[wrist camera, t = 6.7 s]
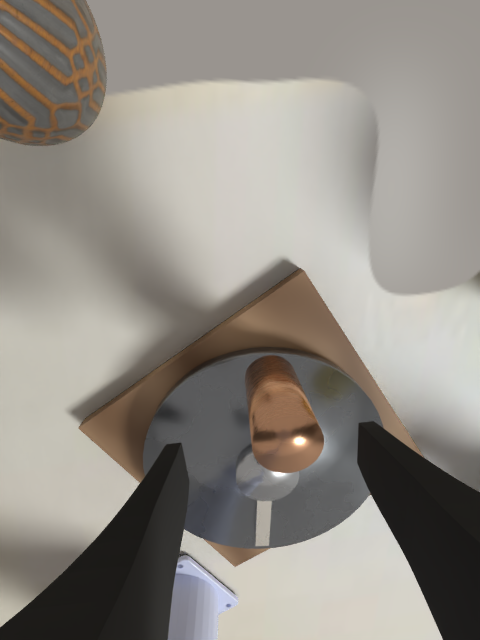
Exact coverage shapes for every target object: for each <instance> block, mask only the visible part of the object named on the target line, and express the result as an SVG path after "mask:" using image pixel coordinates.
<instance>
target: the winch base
mask: <svg viewBox="0 0 480 640" xmlns="http://www.w3.org/2000/svg"><path fill="white" fill-rule="evenodd" d="M256 347H284V348H290V349H296V350H302V351H305V352H308V353H311V354H314V355H317V356H319V357H322V358H324V359H326V360H328V361H330V362H332V363H333V364H335V365H337V366H338V367H340V368H341V369H343V370H344V371H345V372H346V373H347V374H349V375H350V376H351V377H352V378H353V379H354V380H355V381H356V382H357V384H358V385H359V386H360V387H361V388H362V390H363V391H364V392H365V393H366V395H367V396H368V397H369V398H370V400H371V401H372V403H373V404H374V406H375V408H376V409H377V411H378V413H379V416H380V418H381V421H382V424H383V428H384V429H385V430H386V431H388V432H389V433H390V434H392V435H393V436H394V437H396V438H397V439H399V440H400V441H401V442H403V443H404V444H405V445H407V446H408V447H409V448H411V449H412V450H414V451H415V452H416V453H418V454H419V455H421V456H422V457H423V455H422V454H421V452H420V451H419V449H418V448H417V446H416V444H415V443H414V441H413V440H412V438H411V437H410V435H409V433H408V432H407V430H406V429H405V427H404V426H403V424H402V423H401V421H400V419H399V418H398V416H397V415H396V413H395V412H394V410H393V409H392V407H391V405H390V404H389V402H388V401H387V399H386V398H385V396H384V395H383V393H382V391H381V390H380V388H379V387H378V385H377V384H376V382H375V380H374V379H373V377H372V376H371V374H370V373H369V371H368V370H367V368H366V366H365V365H364V363H363V362H362V360H361V359H360V357H359V356H358V354H357V352H356V351H355V349H354V348H353V346H352V345H351V343H350V342H349V340H348V338H347V337H346V335H345V334H344V332H343V331H342V329H341V327H340V326H339V324H338V323H337V321H336V320H335V318H334V317H333V315H332V313H331V312H330V310H329V309H328V307H327V306H326V304H325V303H324V301H323V299H322V298H321V296H320V295H319V293H318V292H317V290H316V289H315V287H314V285H313V284H312V282H311V281H310V279H309V278H308V276H307V274H306V273H305V271H304V270H302V269H301V268H300V269H298V270H297V271H295V272H294V273H293V274H291V275H290V276H288V277H287V278H285V279H284V280H283V281H281V282H280V283H278V284H277V285H275V286H274V287H273V288H271V289H270V290H268V291H267V292H265V293H264V294H263V295H261V296H260V297H258V298H257V299H255V300H254V301H253V302H251V303H250V304H248V305H247V306H245V307H244V308H242V309H241V310H240V311H238V312H237V313H235V314H234V315H232V316H231V317H230V318H228V319H227V320H225V321H224V322H222V323H221V324H220V325H218V326H217V327H215V328H214V329H212V330H211V331H210V332H208V333H207V334H205V335H204V336H202V337H201V338H200V339H198V340H197V341H195V342H194V343H192V344H191V345H190V346H188V347H187V348H185V349H184V350H182V351H181V352H180V353H178V354H177V355H175V356H174V357H172V358H171V359H170V360H168V361H167V362H165V363H164V364H162V365H161V366H160V367H158V368H157V369H155V370H154V371H152V372H151V373H150V374H148V375H147V376H145V377H144V378H142V379H141V380H140V381H138V382H137V383H135V384H134V385H132V386H131V387H130V388H128V389H127V390H125V391H124V392H122V393H121V394H120V395H118V396H117V397H115V398H114V399H112V400H111V401H110V402H108V403H107V404H105V405H104V406H102V407H101V408H100V409H98V410H97V411H95V412H94V413H92V414H91V415H90V416H88V417H87V418H85V419H84V421H83V422H82V424H81V425H80V426H79V429H80V430H81V431H82V432H83V433H84V434H85V435H87V436H88V437H89V438H90V439H91V440H92V441H93V442H94V443H96V444H97V445H98V446H99V447H100V448H101V449H102V450H104V451H105V452H106V453H107V454H108V455H109V456H110V457H111V458H113V459H114V460H115V461H116V462H117V463H118V464H119V465H120V466H122V467H123V468H124V469H125V470H126V471H127V472H128V473H130V474H131V475H132V476H133V477H134V478H135V479H136V480H137V481H139V482H140V483H141V481H142V480H143V478H144V477H145V474H144V469H143V450H144V442H145V439H146V436H147V432H148V429H149V426H150V424H151V421H152V418H153V416H154V414H155V412H156V410H157V408H158V406H159V404H160V402H161V401H162V399H163V398H164V397H165V395H166V394H167V392H168V391H169V390H170V389H171V388H172V387H173V386H174V385H175V384H176V383H177V382H178V381H179V380H180V379H181V378H182V377H184V376H185V375H186V374H187V373H188V372H190V371H191V370H193V369H195V368H196V367H198V366H199V365H201V364H203V363H205V362H207V361H209V360H211V359H213V358H215V357H218V356H220V355H224V354H227V353H230V352H233V351H237V350H243V349H248V348H256ZM369 495H371V493H370V494H369ZM204 540H205V539H204ZM205 541H206V542H207V543H209V544H210V545H211V546H212V547H213V548H214V549H215V550H217V551H218V552H219V553H220V554H221V555H222V556H223V557H224V558H226V559H227V560H228V561H229V562H230V563H231V564H232V565H233V566H235V567H236V566H238V565H239V564H241V563H243V562H245V561H247V560H249V559H251V558H253V557H254V556H256V555H258V554H260V553H262V552H264V551H266V550H268V549H270V548H265V549H246V548H237V547H230V546H225V545H220V544H217V543H214V542H211V541H207V540H205Z"/></svg>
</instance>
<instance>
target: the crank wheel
mask: <svg viewBox="0 0 480 640" xmlns="http://www.w3.org/2000/svg"><path fill="white" fill-rule="evenodd" d="M370 421H374V422H376V423H377V424H378V425H380V426H381V427H382V428H383V424H382V421H381V418H380V416H379V413H378V411H377V409H376V408H375V406H374V404H373V403H372V401H371V400H370V398H369V397H368V396H367V395H366V393H365V392H364V391H363V390H362V388H361V387H360V386H359V385H358V384H357V382H356V381H355V380H354V379H353V378H352V377H351V376H350V375H349V374H347V373H346V372H345V371H344V370H343V369H341V368H340V367H338V366H337V365H335V364H333V363H332V362H330V361H328V360H326V359H324V358H322V357H319V356H317V355H314V354H311V353H308V352H305V351H302V350H296V349H290V348H284V347H256V348H248V349H243V350H237V351H233V352H230V353H227V354H224V355H220V356H218V357H215V358H213V359H211V360H209V361H207V362H205V363H203V364H201V365H199V366H198V367H196V368H195V369H193V370H191V371H190V372H188V373H187V374H186V375H185V376H184V377H182V378H181V379H180V380H179V381H178V382H177V383H176V384H175V385H174V386H173V387H172V388H171V389H170V390H169V391H168V392H167V394H166V395H165V397H164V398H163V399H162V401H161V402H160V404H159V406H158V408H157V410H156V412H155V414H154V416H153V418H152V421H151V424H150V426H149V429H148V432H147V436H146V439H145V442H144V450H143V469H144V474H145V476H146V474H147V473H148V471H149V470H150V468H151V467H152V465H153V464H154V462H155V461H156V459H157V457H158V456H159V454H160V453H161V451H162V450H163V448H164V446H165V445H166V444H172V443H181V442H182V447H183V452H184V457H185V462H186V467H187V472H188V477H189V495H188V507H187V514H186V519H185V525H184V529H185V530H187V531H189V532H190V533H192V534H194V535H196V536H198V537H200V538H203V539H205V540H207V541H211V542H214V543H217V544H220V545H225V546H230V547H237V548H246V549H265V548H276V547H282V546H288V545H292V544H296V543H299V542H303V541H306V540H308V539H311V538H314V537H316V536H318V535H320V534H322V533H324V532H327V531H329V530H330V529H332V528H333V527H335V526H337V525H338V524H340V523H341V522H343V521H344V520H345V519H346V518H348V517H349V516H350V515H351V514H352V513H354V512H355V511H356V510H357V509H358V508H359V507H360V506H361V504H362V503H363V502H364V501H365V500H366V498H367V497H368V496H369V494H370V492H369V490H368V488H367V485H366V483H365V481H364V478H363V476H362V474H361V471H360V469H359V466H358V464H357V451H358V426H359V423H361V422H370Z"/></svg>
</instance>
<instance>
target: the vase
mask: <svg viewBox="0 0 480 640" xmlns="http://www.w3.org/2000/svg"><path fill="white" fill-rule="evenodd" d="M105 90H106V63H105V56H104V50H103V45H102V42H101V38H100V35H99V32H98V29H97V25H96V23H95V20H94V17H93V15H92V13H91V10H90V8H89V6H88V4H87V2H86V0H0V138H1V139H4V140H7V141H11V142H15V143H19V144H25V145H33V146H47V145H55V144H60V143H64V142H67V141H70V140H72V139H74V138H76V137H78V136H79V135H81V134H82V133H83V132H85V131H86V130H87V129H88V128H89V127H90V126H91V125H92V124H93V122H94V121H95V119H96V118H97V116H98V114H99V112H100V110H101V107H102V104H103V101H104V97H105Z"/></svg>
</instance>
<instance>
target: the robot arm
mask: <svg viewBox="0 0 480 640" xmlns="http://www.w3.org/2000/svg"><path fill="white" fill-rule="evenodd" d="M357 464H358V466H359V469H360V471H361V474H362V476H363V478H364V481H365V483H366V485H367V488H368V490H369V492H370V493H371V495H372V497H373V499H374V501H375V502H376V504H377V506H378V508H379V510H380V512H381V513H382V515H383V517H384V519H385V520H386V522H387V524H388V526H389V528H390V529H391V531H392V533H393V535H394V537H395V538H396V540H397V542H398V544H399V545H400V547H401V549H402V551H403V553H404V555H405V557H406V559H407V561H408V563H409V565H410V567H411V569H412V571H413V573H414V575H415V578H416V580H417V582H418V584H419V586H420V588H421V591H422V593H423V595H424V597H425V599H426V602H427V604H428V606H429V609H430V611H431V613H432V615H433V618H434V620H435V622H436V625H437V627H438V629H439V631H440V634H441V636H442V638H443V640H480V492H478V491H476V490H474V489H472V488H471V487H469V486H467V485H465V484H464V483H462V482H461V481H459V480H457V479H456V478H454V477H452V476H451V475H449V474H448V473H446V472H445V471H443V470H441V469H440V468H438V467H437V466H435V465H434V464H432V463H431V462H429V461H428V460H426V459H425V458H424V457H422V456H421V455H419V454H418V453H416V452H415V451H414V450H412V449H411V448H409V447H408V446H407V445H405V444H404V443H403V442H401V441H400V440H399V439H397V438H396V437H394V436H393V435H392V434H390V433H389V432H388V431H386V430H385V429H384V428H382V427H381V426H380V425H378V424H377V423H376V422H374V421H370V422H361V423H359V426H358V451H357ZM188 495H189V477H188V472H187V467H186V462H185V457H184V452H183V447H182V442H181V443H172V444H166V445H165V446H164V448H163V450H162V451H161V453H160V454H159V456H158V457H157V459H156V461H155V462H154V464H153V465H152V467H151V468H150V470H149V471H148V473H147V474H146V476H145V477H144V478H143V480H142V481H141V483H140V484H139V486H138V487H137V488H136V490H135V491H134V493H133V494H132V495H131V497H130V498H129V499H128V500H127V502H126V503H125V504H124V506H123V507H122V508H121V510H120V511H119V512H118V513H117V515H116V516H115V517H114V518H113V520H112V521H111V522H110V523H109V524H108V526H107V527H106V528H105V529H104V530H103V531H102V532H101V534H100V535H99V536H98V537H97V538H96V539H95V540H94V541H93V542H92V544H91V545H90V546H89V547H88V548H87V549H86V550H85V551H84V552H83V553H82V554H81V555H80V556H79V557H78V558H77V559H76V560H75V561H74V562H73V563H72V564H71V565H70V566H69V567H68V568H67V569H66V570H65V571H64V572H63V573H62V574H61V575H60V576H59V577H58V578H57V579H56V580H55V581H54V582H52V583H51V584H50V585H49V586H48V587H47V588H46V589H45V590H44V591H43V592H42V593H40V594H39V595H38V596H37V597H36V598H35V599H34V600H33V601H31V602H30V603H29V604H28V605H27V606H26V607H24V608H23V609H22V610H21V611H20V612H19V613H17V614H16V615H15V616H14V617H12V618H11V619H10V620H9V621H8V622H6V623H5V624H4V625H3V626H2V627H0V640H218V614H220V613H222V612H224V611H226V610H228V609H230V608H232V607H234V606H236V605H237V604H238V597H237V596H236V595H235V594H233V593H232V592H231V591H230V590H229V589H227V588H226V587H225V586H224V585H223V584H222V583H220V582H219V581H218V580H217V579H216V578H214V577H213V576H212V575H211V574H210V573H208V572H207V571H206V570H205V569H204V568H202V567H201V566H200V565H199V564H198V563H196V562H195V561H194V560H193V559H192V558H190V557H189V556H187V555H184V556H181V557H180V558H178V557H179V552H180V547H181V541H182V536H183V530H184V525H185V519H186V514H187V507H188Z"/></svg>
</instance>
